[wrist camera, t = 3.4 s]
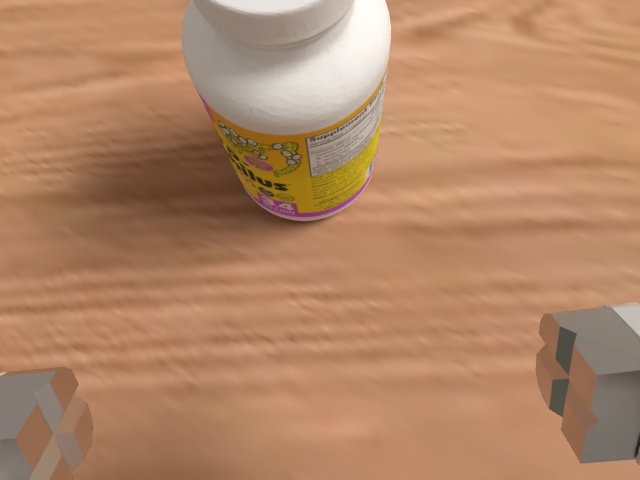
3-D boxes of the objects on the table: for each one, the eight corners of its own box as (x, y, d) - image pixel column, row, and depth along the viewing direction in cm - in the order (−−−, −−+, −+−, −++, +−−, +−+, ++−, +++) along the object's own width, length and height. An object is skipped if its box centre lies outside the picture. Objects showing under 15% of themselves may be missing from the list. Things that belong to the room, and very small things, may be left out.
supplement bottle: (214, 147, 26) (91, -86, 13) (324, 79, 26) (304, -199, 14) (287, 253, 24) (224, 96, 12) (403, 176, 25) (459, -46, 12)
